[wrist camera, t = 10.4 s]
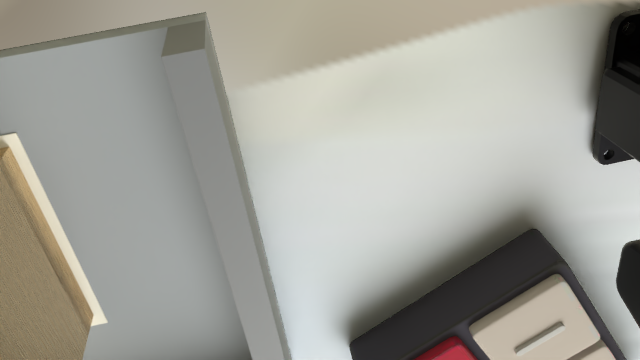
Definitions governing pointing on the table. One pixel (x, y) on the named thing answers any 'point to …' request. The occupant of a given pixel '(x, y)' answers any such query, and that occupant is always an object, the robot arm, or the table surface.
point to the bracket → (35, 279)
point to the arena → (145, 190)
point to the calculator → (498, 314)
